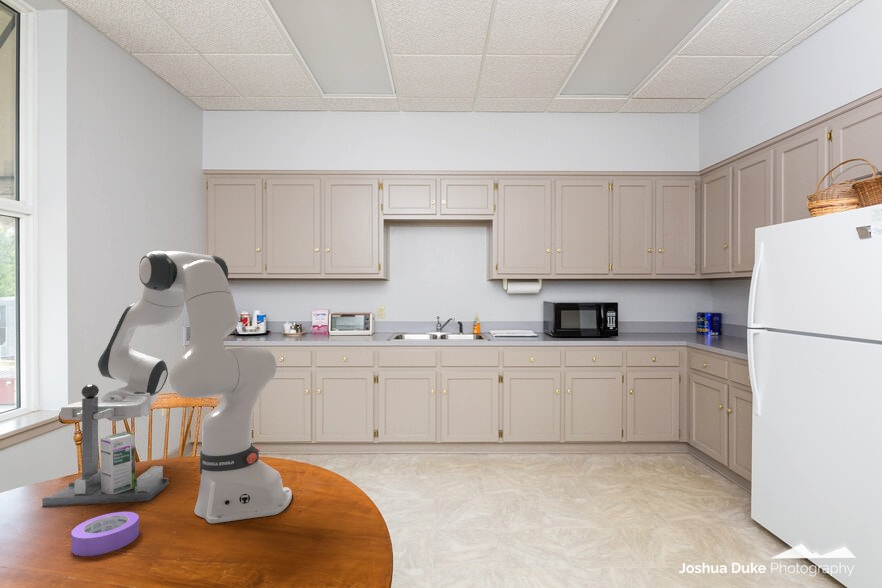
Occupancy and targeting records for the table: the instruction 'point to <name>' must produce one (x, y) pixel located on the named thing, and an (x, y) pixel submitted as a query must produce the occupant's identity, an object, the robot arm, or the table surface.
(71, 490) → the tray
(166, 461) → the table surface
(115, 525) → the masking tape
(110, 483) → the syrup box
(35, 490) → the table surface
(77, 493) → the ball-topped square post
